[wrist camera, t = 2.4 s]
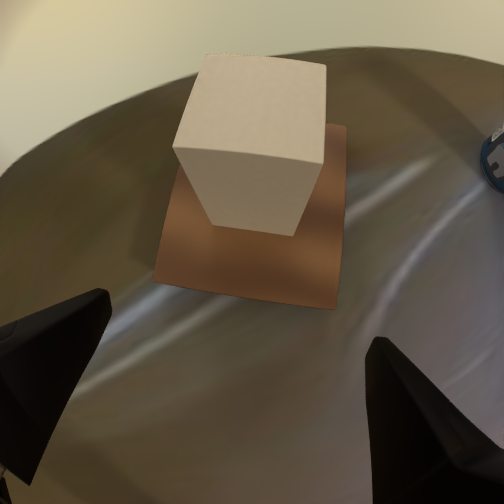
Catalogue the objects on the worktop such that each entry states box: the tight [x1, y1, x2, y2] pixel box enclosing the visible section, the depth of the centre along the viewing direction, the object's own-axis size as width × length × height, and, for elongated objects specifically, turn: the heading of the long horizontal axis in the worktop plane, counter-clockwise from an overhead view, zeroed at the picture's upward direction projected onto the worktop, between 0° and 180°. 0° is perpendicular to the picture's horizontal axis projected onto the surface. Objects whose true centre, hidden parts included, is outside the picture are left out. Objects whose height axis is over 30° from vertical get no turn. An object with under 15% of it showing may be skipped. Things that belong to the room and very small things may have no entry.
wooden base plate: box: [152, 122, 347, 310], centre depth 21 cm, size 14×12×2 cm
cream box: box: [172, 54, 326, 236], centre depth 15 cm, size 6×6×10 cm
